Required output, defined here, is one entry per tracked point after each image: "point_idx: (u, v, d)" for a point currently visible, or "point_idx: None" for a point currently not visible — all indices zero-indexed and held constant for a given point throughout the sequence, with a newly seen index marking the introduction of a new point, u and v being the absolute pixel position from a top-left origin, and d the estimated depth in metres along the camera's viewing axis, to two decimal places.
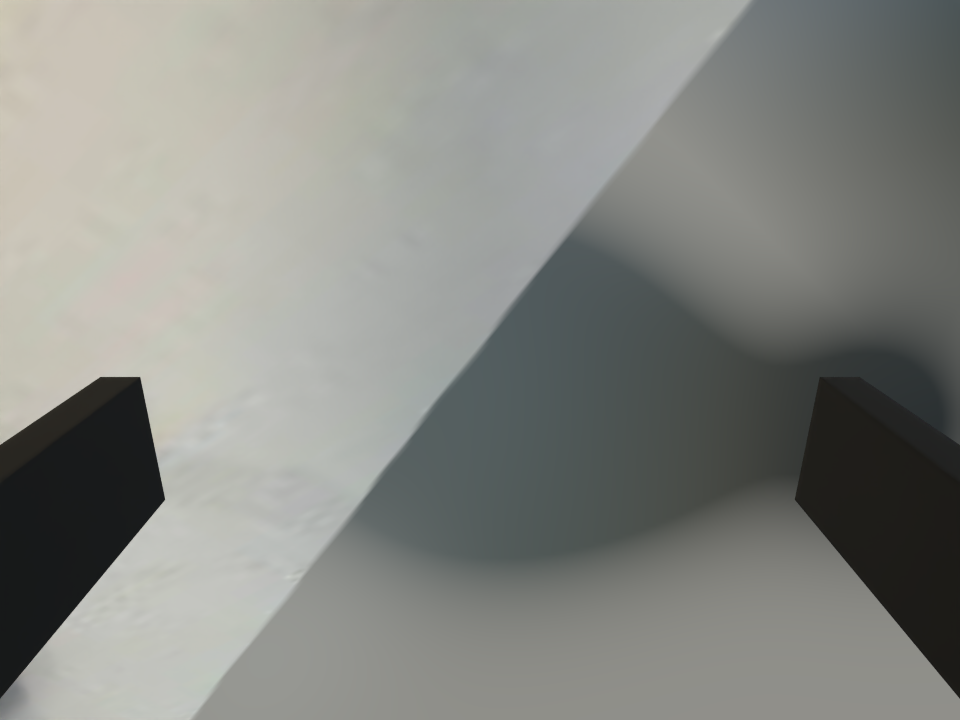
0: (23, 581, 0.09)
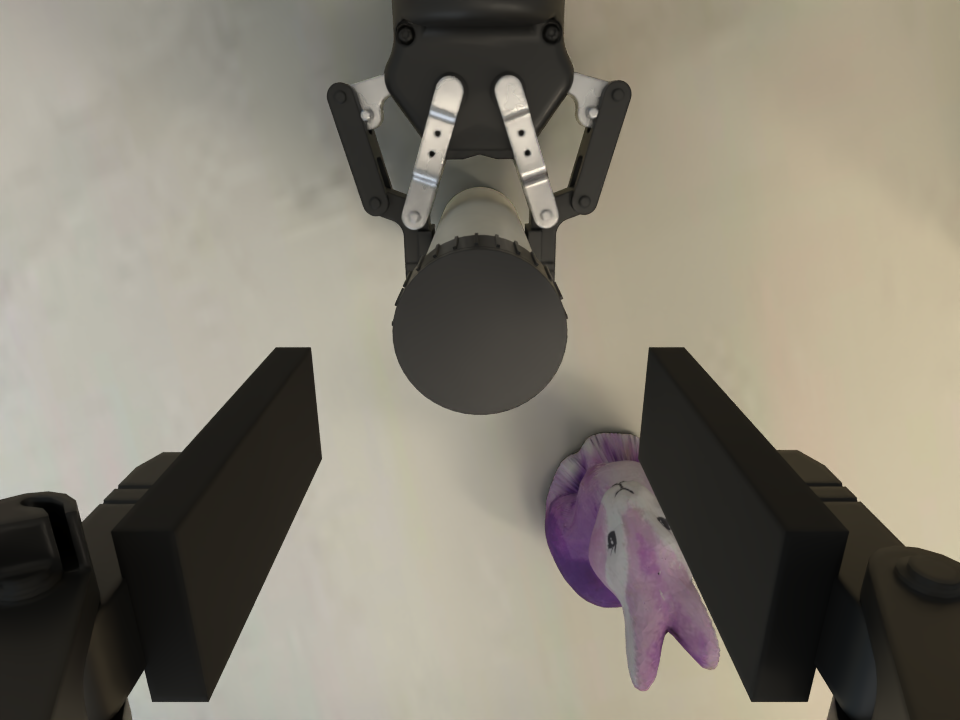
0: (261, 512, 0.11)
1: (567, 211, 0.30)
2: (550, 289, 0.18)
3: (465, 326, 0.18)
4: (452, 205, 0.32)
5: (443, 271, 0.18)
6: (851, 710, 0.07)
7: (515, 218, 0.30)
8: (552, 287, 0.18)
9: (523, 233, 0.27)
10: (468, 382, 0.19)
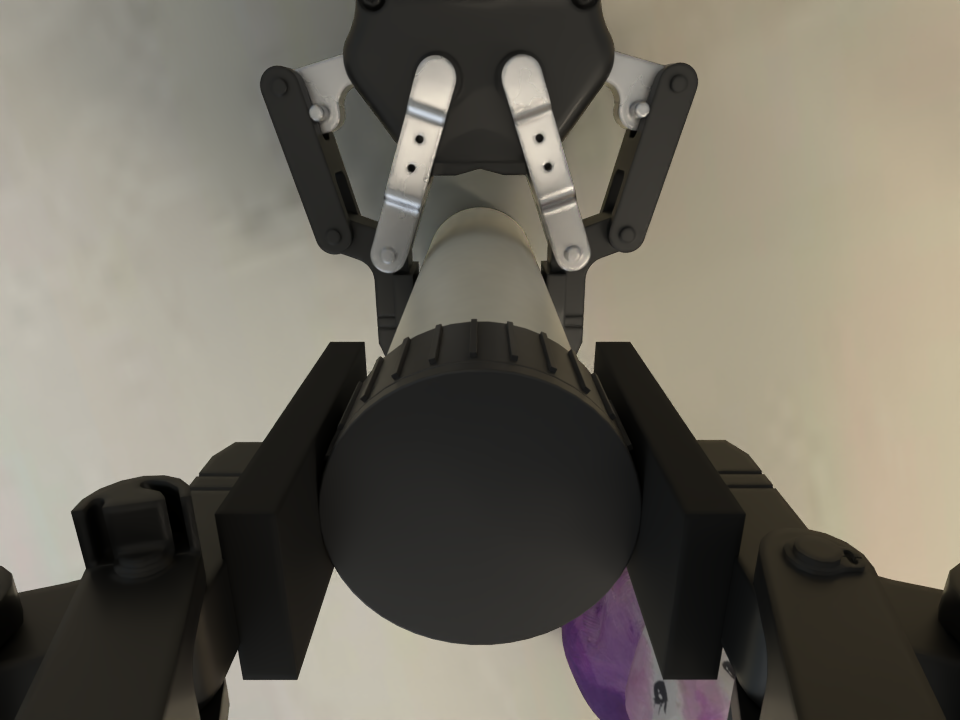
0: None
1: (601, 247, 0.22)
2: (613, 440, 0.10)
3: (453, 504, 0.10)
4: (442, 236, 0.24)
5: (410, 409, 0.09)
6: (750, 689, 0.08)
7: (529, 258, 0.21)
8: (617, 436, 0.10)
9: (543, 285, 0.19)
10: (459, 595, 0.11)
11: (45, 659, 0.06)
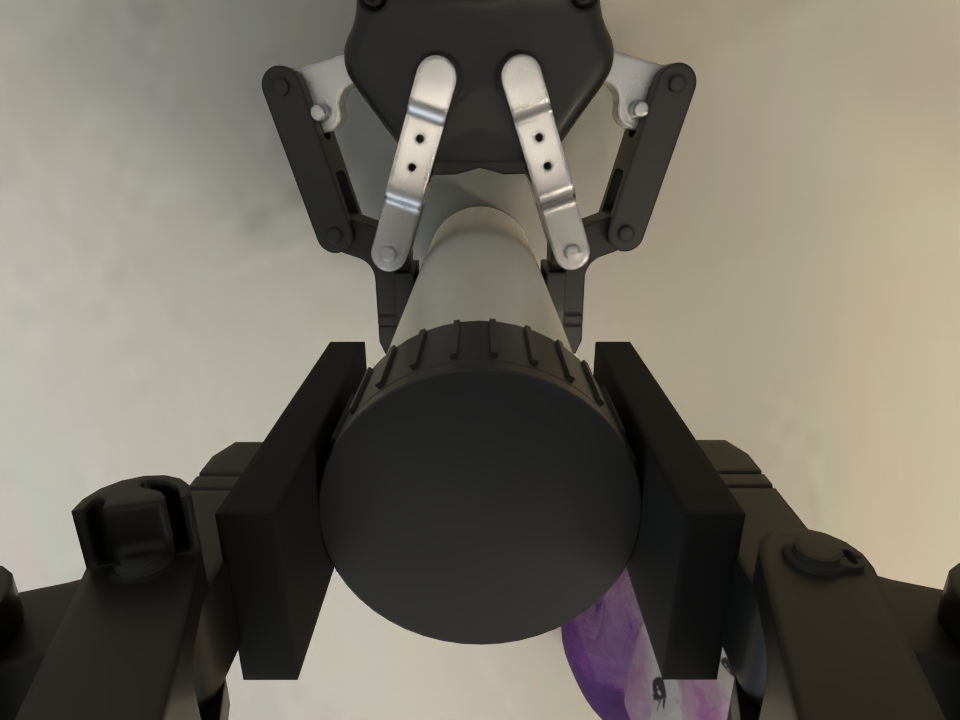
0: None
1: (601, 245, 0.22)
2: (326, 486, 0.10)
3: (483, 546, 0.10)
4: (442, 235, 0.24)
5: (434, 621, 0.11)
6: (749, 689, 0.08)
7: (529, 256, 0.21)
8: (321, 485, 0.10)
9: (542, 283, 0.19)
10: (566, 481, 0.10)
11: (46, 659, 0.06)
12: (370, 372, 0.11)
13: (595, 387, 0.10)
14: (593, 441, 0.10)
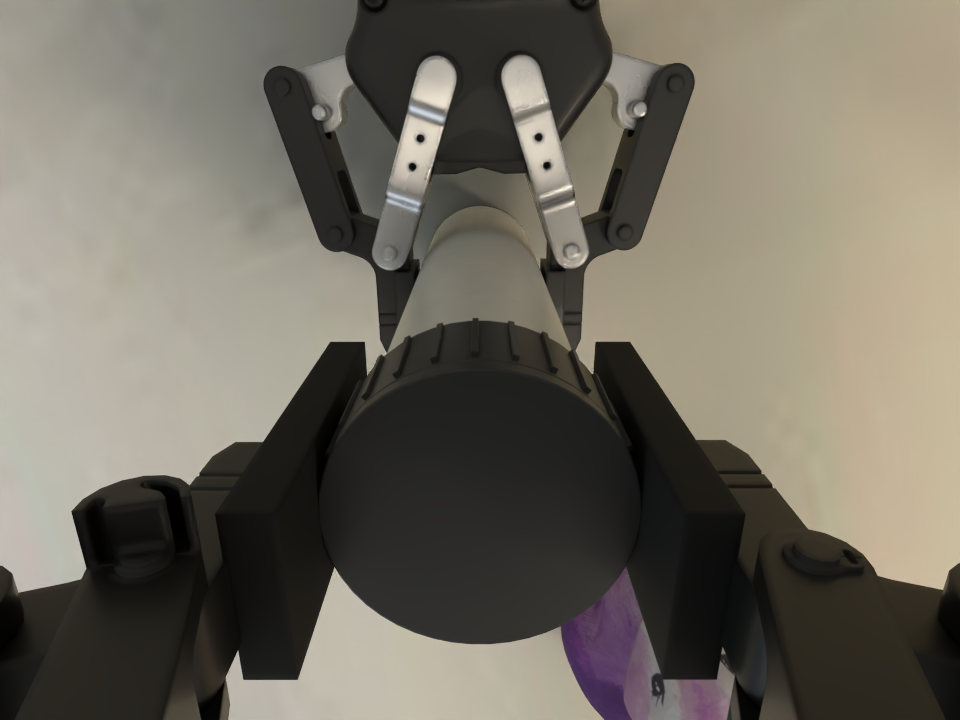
0: None
1: (600, 244, 0.22)
2: (545, 626, 0.11)
3: (502, 499, 0.10)
4: (443, 234, 0.24)
5: (612, 476, 0.10)
6: (749, 689, 0.08)
7: (529, 255, 0.21)
8: (548, 628, 0.11)
9: (542, 282, 0.19)
10: (389, 490, 0.10)
11: (46, 659, 0.06)
12: None
13: None
14: (341, 499, 0.10)
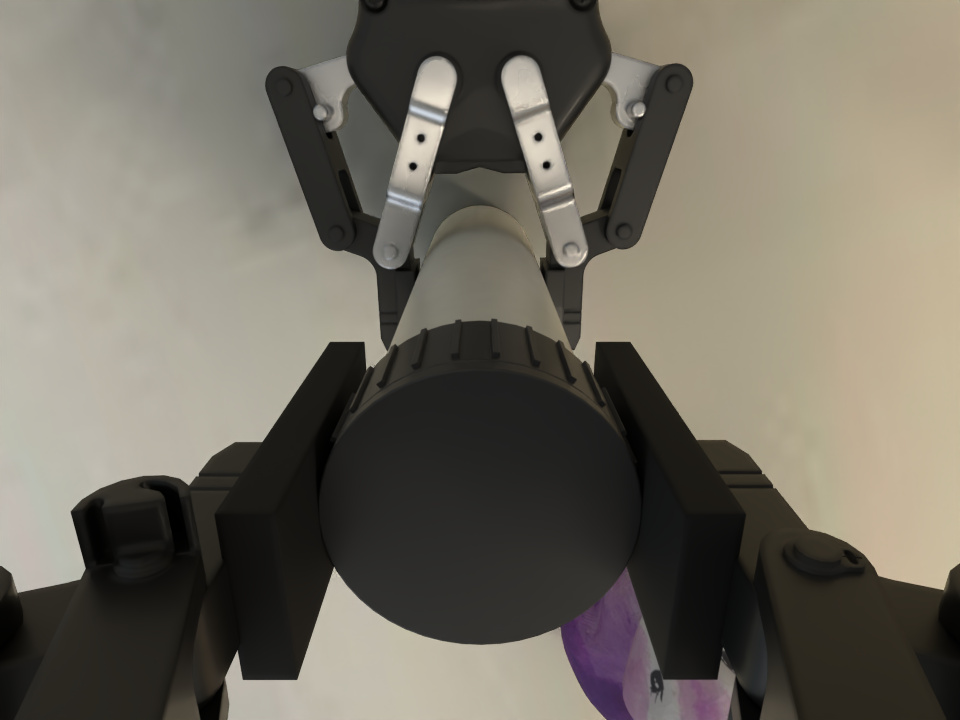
0: None
1: (599, 244, 0.22)
2: (541, 386, 0.09)
3: (447, 519, 0.10)
4: (443, 233, 0.24)
5: (353, 462, 0.10)
6: (750, 689, 0.08)
7: (529, 254, 0.22)
8: (543, 380, 0.09)
9: (542, 280, 0.19)
10: (512, 592, 0.10)
11: (45, 659, 0.06)
12: None
13: None
14: (548, 613, 0.11)
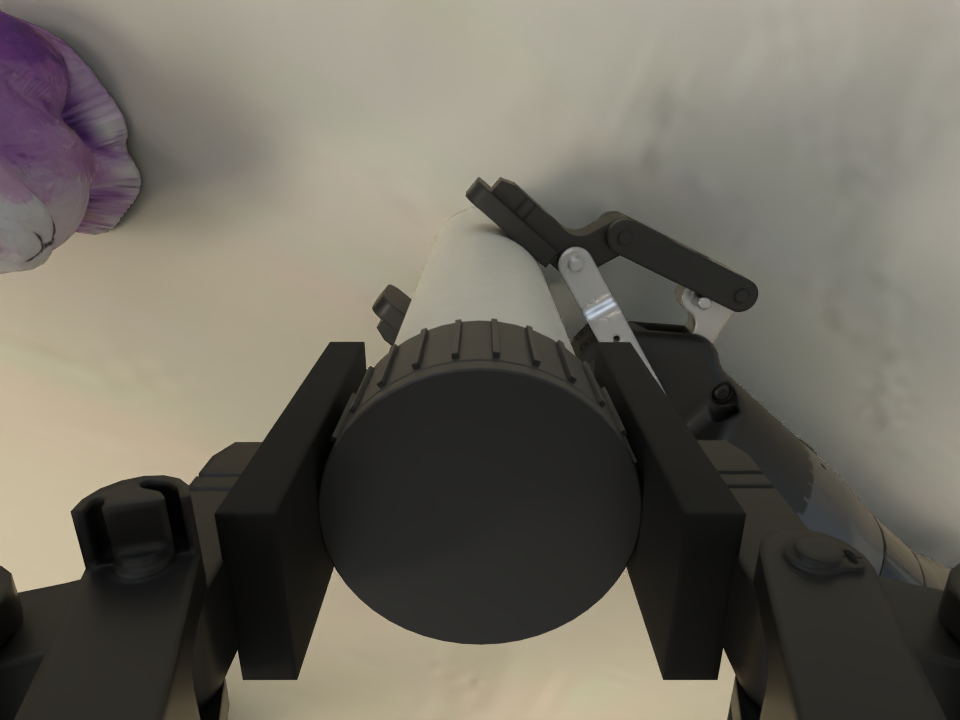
0: None
1: None
2: (541, 386, 0.09)
3: (447, 519, 0.10)
4: None
5: (354, 462, 0.10)
6: (750, 689, 0.08)
7: None
8: (543, 380, 0.09)
9: None
10: (512, 592, 0.10)
11: (45, 659, 0.06)
12: None
13: None
14: (548, 613, 0.11)
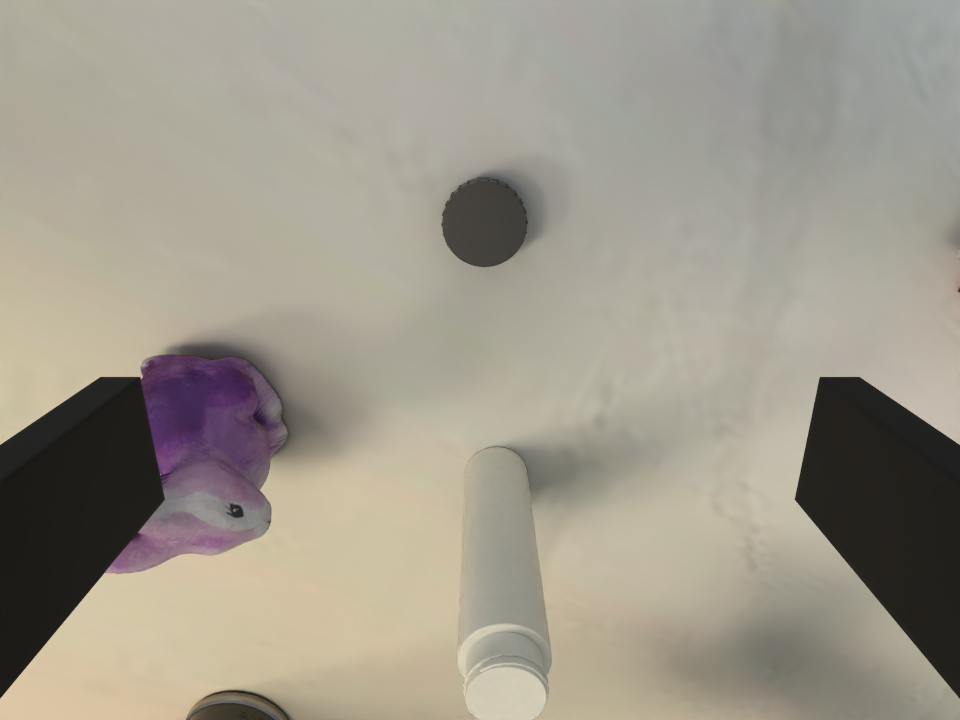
0: (23, 581, 0.09)
1: None
2: (499, 186, 0.38)
3: (476, 225, 0.39)
4: None
5: (452, 208, 0.38)
6: None
7: None
8: (499, 185, 0.38)
9: None
10: (493, 248, 0.39)
11: None
12: (515, 192, 0.40)
13: None
14: (503, 255, 0.39)
